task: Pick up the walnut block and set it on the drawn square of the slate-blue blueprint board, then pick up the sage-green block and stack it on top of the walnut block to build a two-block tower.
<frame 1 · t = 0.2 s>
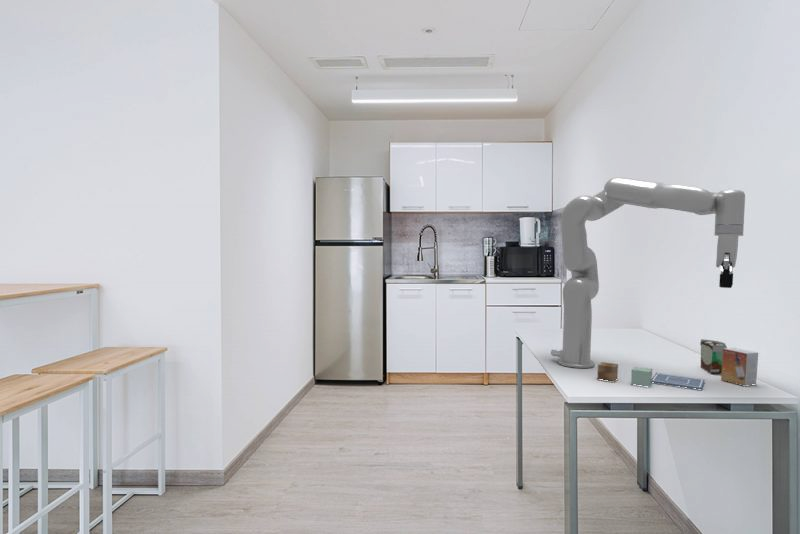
hand: (726, 286, 163), 31 cm above the table, tool pointing down, fingers open, 9 cm apart
walnut block: (607, 379, 169), on the table
small box: (738, 383, 168), on the table
food container: (715, 371, 183), on the table
sage block: (641, 385, 163), on the table
blueprint board: (677, 382, 167), on the table
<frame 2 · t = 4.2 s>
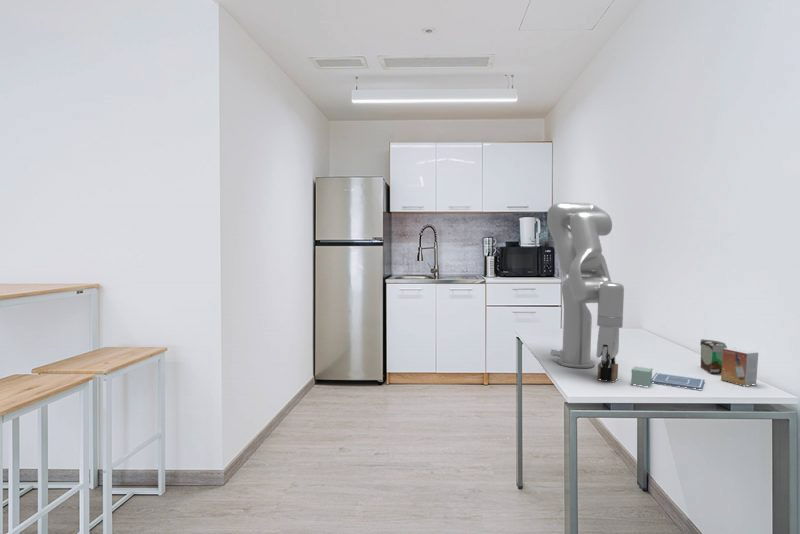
hand: (607, 377, 169), 1 cm above the table, tool pointing down, fingers closed on walnut block, 5 cm apart
walnut block: (607, 379, 169), on the table, touching gripper
everything else where it was.
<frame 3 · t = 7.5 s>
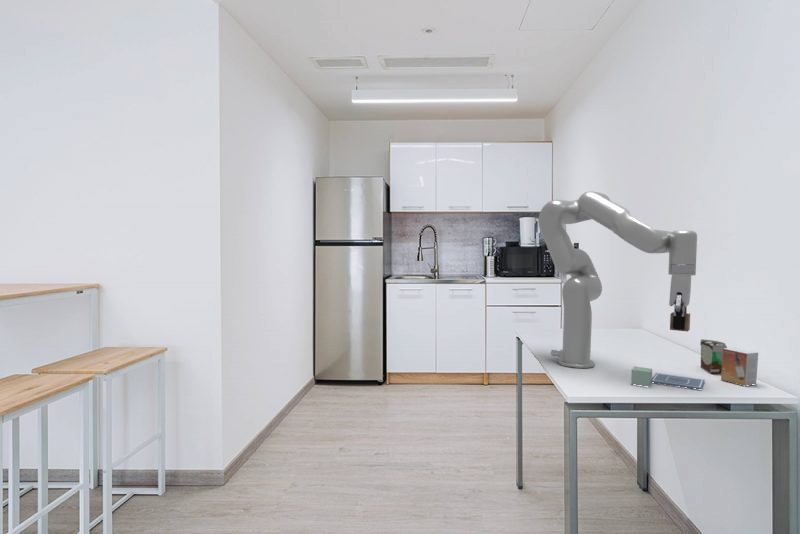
hand: (679, 327, 166), 18 cm above the table, tool pointing down, fingers closed on walnut block, 4 cm apart
walnut block: (679, 329, 166), point 17 cm above the table, touching gripper
everything else where it was.
when the fingers open (2 cm above the table, at t = 10.8 s): walnut block stays where it is, resting on blueprint board.
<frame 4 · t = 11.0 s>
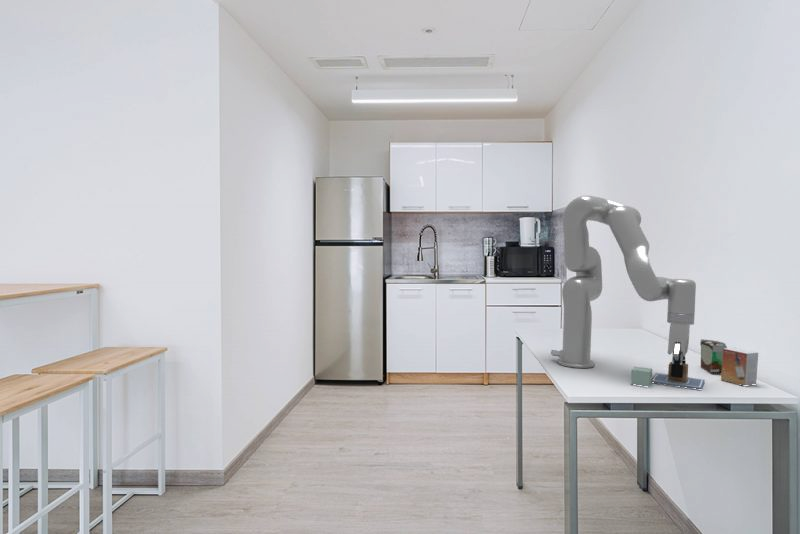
hand: (678, 374, 167), 3 cm above the table, tool pointing down, fingers open, 6 cm apart
walnut block: (677, 380, 167), point 1 cm above the table, touching blueprint board
everything else where it was.
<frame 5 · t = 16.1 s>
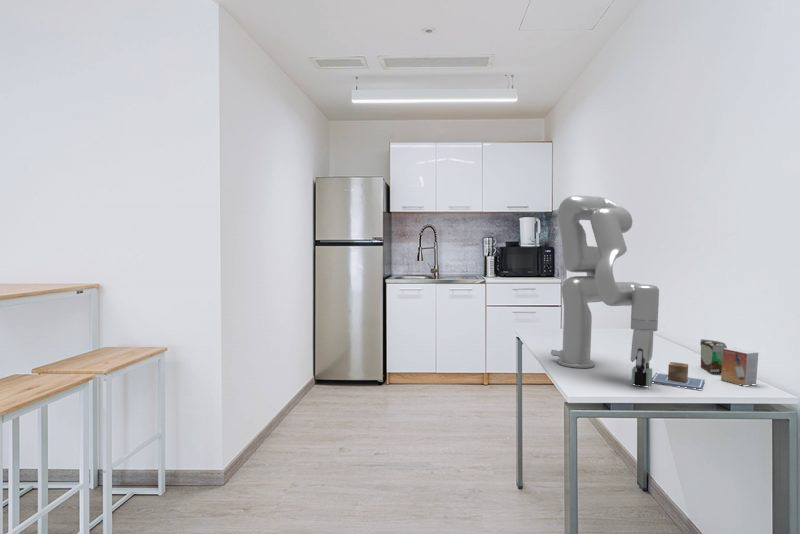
hand: (641, 382, 163), 1 cm above the table, tool pointing down, fingers closed on sage block, 5 cm apart
sage block: (641, 384, 163), on the table, touching gripper
everything else where it was.
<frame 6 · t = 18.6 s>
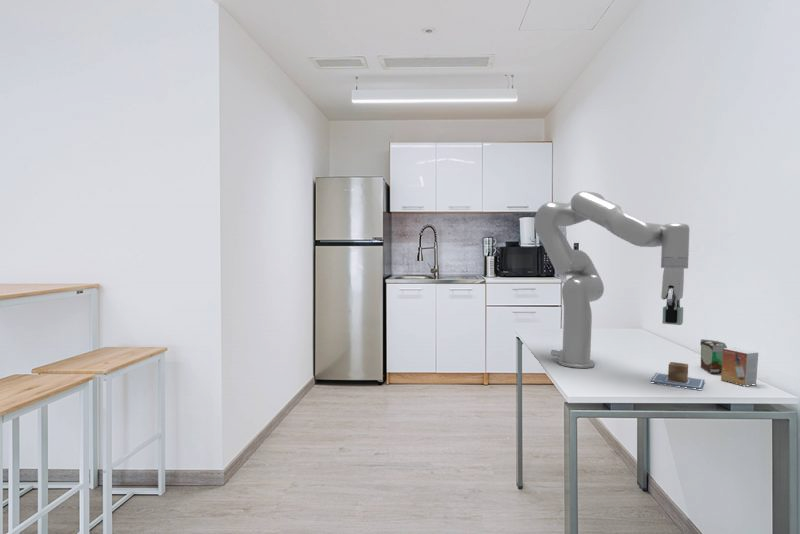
hand: (672, 321, 165), 20 cm above the table, tool pointing down, fingers closed on sage block, 4 cm apart
sage block: (672, 323, 165), point 19 cm above the table, touching gripper
everything else where it was.
when the fingers open (7 cm above the table, at t = 21.5 s): sage block stays where it is, resting on walnut block.
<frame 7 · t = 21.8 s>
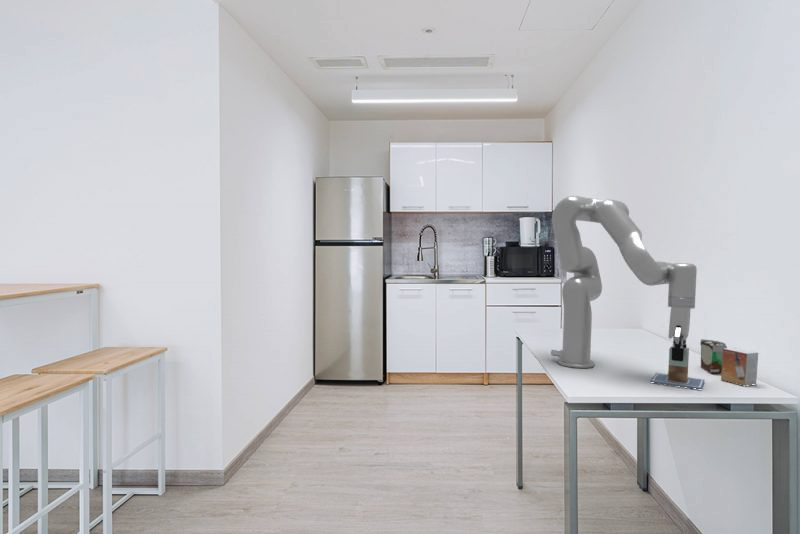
hand: (678, 358, 166), 8 cm above the table, tool pointing down, fingers open, 7 cm apart
walnut block: (677, 380, 167), point 1 cm above the table, touching blueprint board, sage block
sage block: (678, 364, 167), point 6 cm above the table, touching walnut block
everything else where it was.
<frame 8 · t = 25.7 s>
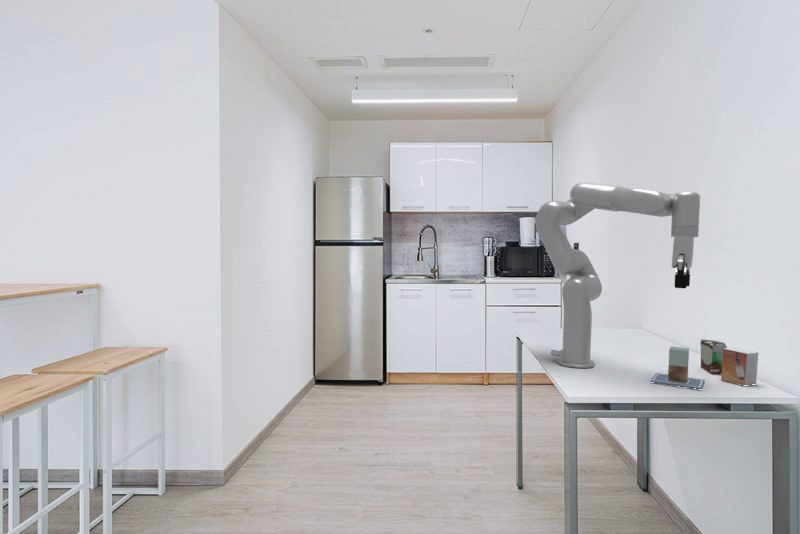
hand: (682, 287, 165), 30 cm above the table, tool pointing down, fingers open, 9 cm apart
nothing on the table moved.
at the end: walnut block inside the target area on the blueprint board (0.0 cm from its centre), point 0.8 cm above the blueprint board's base; sage block inside the target area on the blueprint board (0.0 cm from its centre), point 5.8 cm above the blueprint board's base; sage block tilted 0° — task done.
